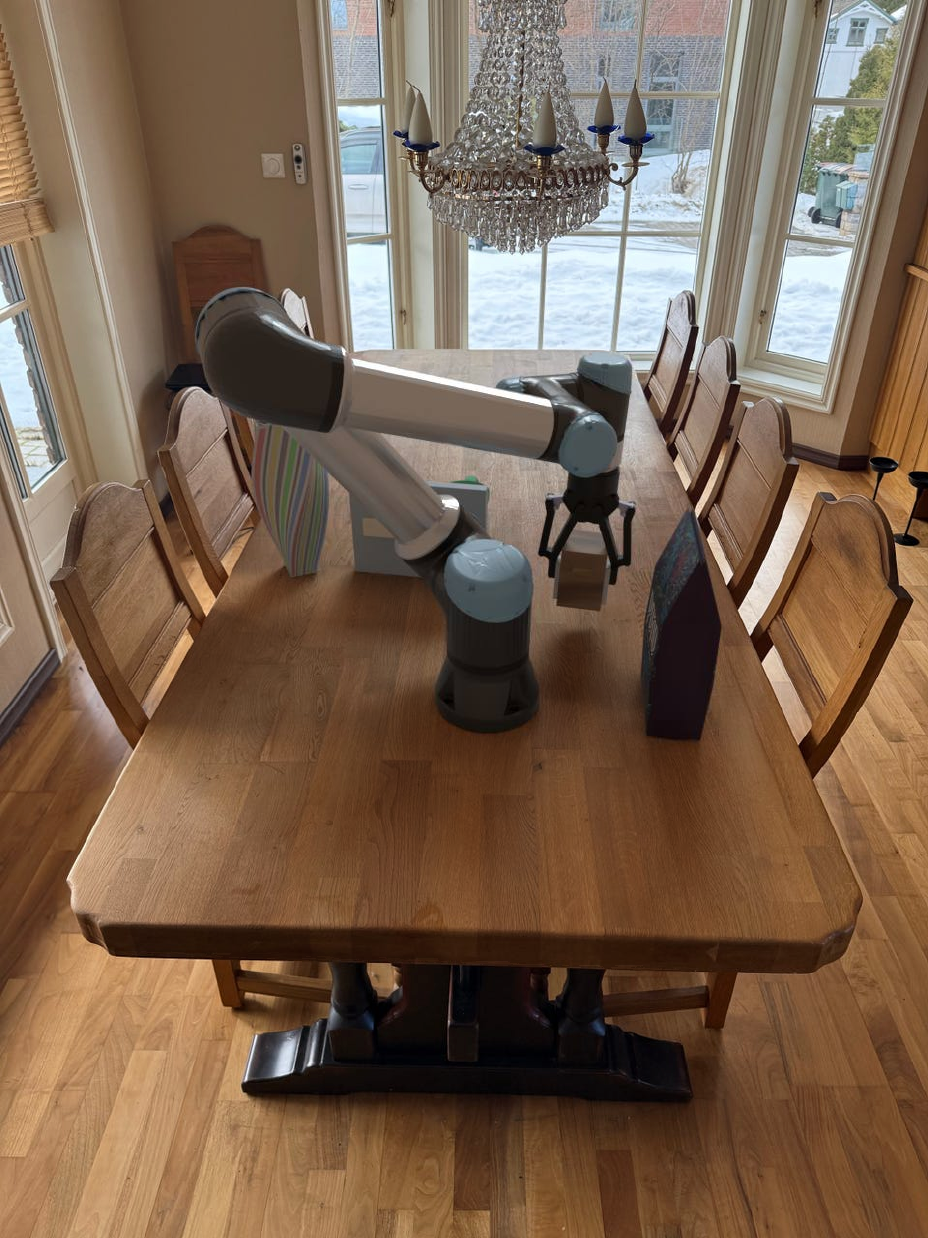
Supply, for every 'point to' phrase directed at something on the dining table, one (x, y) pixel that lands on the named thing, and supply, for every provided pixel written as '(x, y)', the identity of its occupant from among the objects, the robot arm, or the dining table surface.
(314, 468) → the vase
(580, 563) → the brown block
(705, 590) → the decorative box
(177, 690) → the dining table surface
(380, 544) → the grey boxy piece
